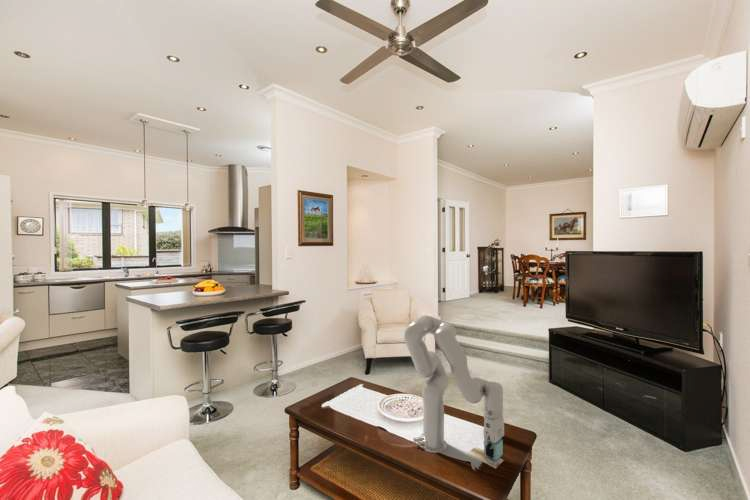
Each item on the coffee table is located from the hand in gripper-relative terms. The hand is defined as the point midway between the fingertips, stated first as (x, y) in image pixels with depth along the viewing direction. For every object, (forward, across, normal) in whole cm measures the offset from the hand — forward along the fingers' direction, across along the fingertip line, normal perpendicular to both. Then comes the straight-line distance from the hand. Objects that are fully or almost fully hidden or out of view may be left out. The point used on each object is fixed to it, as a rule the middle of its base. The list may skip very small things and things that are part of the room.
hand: (493, 452), depth 147 cm
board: (+4, 0, +4) cm, 6 cm away
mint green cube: (+1, 0, 0) cm, 1 cm away
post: (+4, 0, 0) cm, 4 cm away
